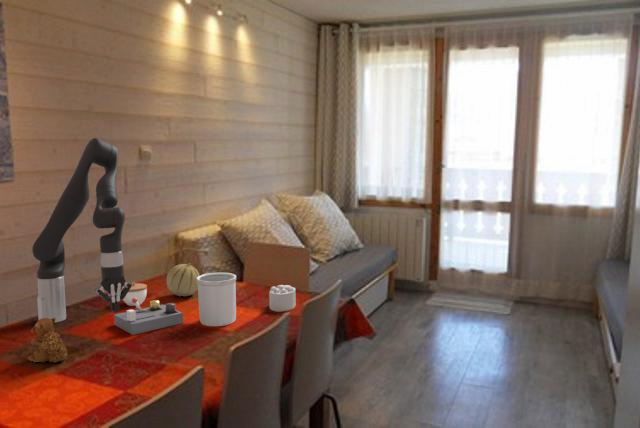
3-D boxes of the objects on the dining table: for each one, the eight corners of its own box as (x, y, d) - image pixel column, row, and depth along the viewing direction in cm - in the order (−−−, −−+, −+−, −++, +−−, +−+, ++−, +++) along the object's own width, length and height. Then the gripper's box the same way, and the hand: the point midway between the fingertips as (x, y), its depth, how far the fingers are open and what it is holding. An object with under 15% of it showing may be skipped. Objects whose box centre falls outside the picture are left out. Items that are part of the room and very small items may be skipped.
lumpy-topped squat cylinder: (297, 303, 238) (297, 283, 237) (290, 312, 225) (290, 291, 224) (274, 302, 240) (273, 282, 239) (265, 311, 227) (265, 290, 226)
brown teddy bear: (56, 350, 184) (54, 311, 182) (77, 360, 175) (75, 319, 174) (25, 359, 176) (22, 318, 175) (45, 370, 167) (43, 327, 166)
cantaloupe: (164, 294, 255) (163, 262, 253) (196, 290, 261) (195, 259, 260) (170, 301, 242) (169, 268, 240) (203, 297, 248) (202, 264, 246)
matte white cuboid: (130, 321, 200) (130, 312, 200) (127, 319, 202) (126, 310, 202) (135, 320, 201) (135, 310, 201) (132, 318, 204) (131, 309, 203)
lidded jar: (142, 307, 234) (141, 285, 233) (117, 307, 234) (116, 285, 233) (150, 300, 244) (150, 279, 243) (126, 300, 244) (125, 279, 243)
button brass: (152, 310, 214) (152, 303, 213) (148, 308, 216) (148, 301, 216) (161, 308, 216) (161, 301, 216) (157, 306, 219) (156, 299, 219)
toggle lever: (139, 313, 212) (132, 300, 209) (137, 312, 213) (130, 299, 211) (143, 309, 213) (136, 297, 210) (141, 308, 214) (134, 296, 212)
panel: (132, 335, 198) (132, 323, 198) (114, 324, 210) (114, 314, 210) (183, 323, 212) (182, 312, 211) (163, 314, 223) (163, 304, 223)
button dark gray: (168, 313, 210) (168, 305, 209) (164, 311, 212) (163, 304, 212) (177, 311, 212) (176, 304, 212) (172, 309, 215) (172, 302, 214)
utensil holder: (229, 328, 205) (228, 281, 203) (191, 326, 208) (190, 280, 206) (242, 316, 220) (241, 273, 218) (207, 314, 223) (206, 271, 221)
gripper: (97, 268, 188) (101, 318, 190) (134, 262, 197) (137, 310, 199) (89, 265, 194) (92, 313, 196) (125, 259, 203) (128, 306, 205)
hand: (115, 311), depth 198 cm, fingers closed
